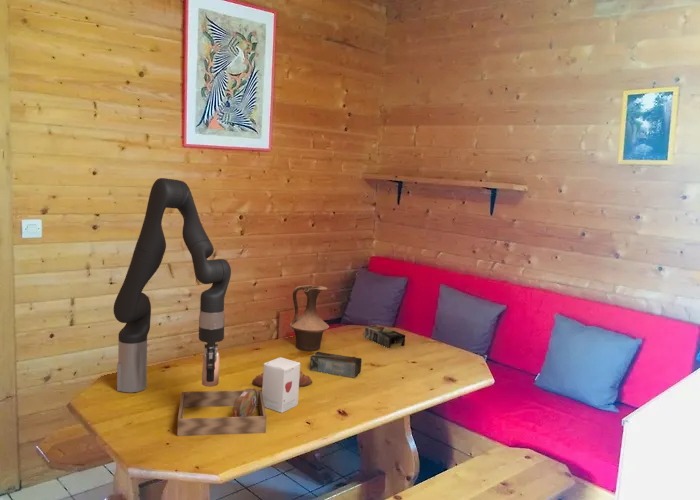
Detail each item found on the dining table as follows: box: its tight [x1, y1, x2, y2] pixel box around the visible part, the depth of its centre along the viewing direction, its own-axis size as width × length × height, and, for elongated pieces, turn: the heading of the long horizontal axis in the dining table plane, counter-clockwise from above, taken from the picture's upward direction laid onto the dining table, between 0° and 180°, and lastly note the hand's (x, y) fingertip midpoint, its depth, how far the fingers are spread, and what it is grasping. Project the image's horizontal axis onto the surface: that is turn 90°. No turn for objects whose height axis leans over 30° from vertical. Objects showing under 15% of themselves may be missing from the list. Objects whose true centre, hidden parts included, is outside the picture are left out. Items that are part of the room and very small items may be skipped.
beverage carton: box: [309, 351, 362, 379], centre depth 236 cm, size 8×19×7 cm, turn 73°
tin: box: [232, 388, 258, 417], centre depth 190 cm, size 15×3×8 cm, turn 168°
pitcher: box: [288, 284, 330, 352], centre depth 261 cm, size 18×17×28 cm
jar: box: [201, 351, 220, 388], centre depth 185 cm, size 5×5×10 cm
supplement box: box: [261, 356, 301, 414], centre depth 200 cm, size 9×9×15 cm
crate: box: [176, 389, 267, 437], centre depth 188 cm, size 26×21×5 cm
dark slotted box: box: [363, 324, 406, 349], centre depth 279 cm, size 20×10×6 cm, turn 36°
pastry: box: [252, 371, 313, 388], centre depth 220 cm, size 17×15×8 cm
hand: (210, 377), depth 186 cm, fingers closed on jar, 5 cm apart
